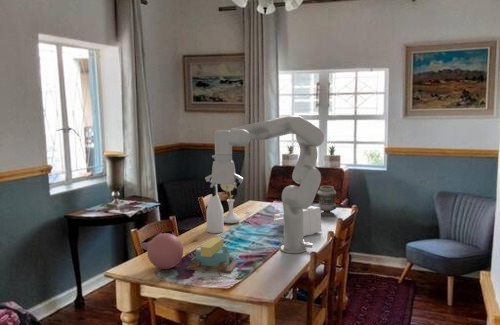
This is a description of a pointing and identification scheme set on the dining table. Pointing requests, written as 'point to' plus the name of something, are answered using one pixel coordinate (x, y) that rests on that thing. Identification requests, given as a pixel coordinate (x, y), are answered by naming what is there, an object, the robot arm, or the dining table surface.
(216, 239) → the tan wooden bar
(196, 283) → the dining table surface
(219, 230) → the wine bottle
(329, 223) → the dining table surface
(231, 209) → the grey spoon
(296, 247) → the robot arm
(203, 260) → the teal notched block
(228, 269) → the jig
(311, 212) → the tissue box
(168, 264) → the balloon
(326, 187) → the apothecary jar
